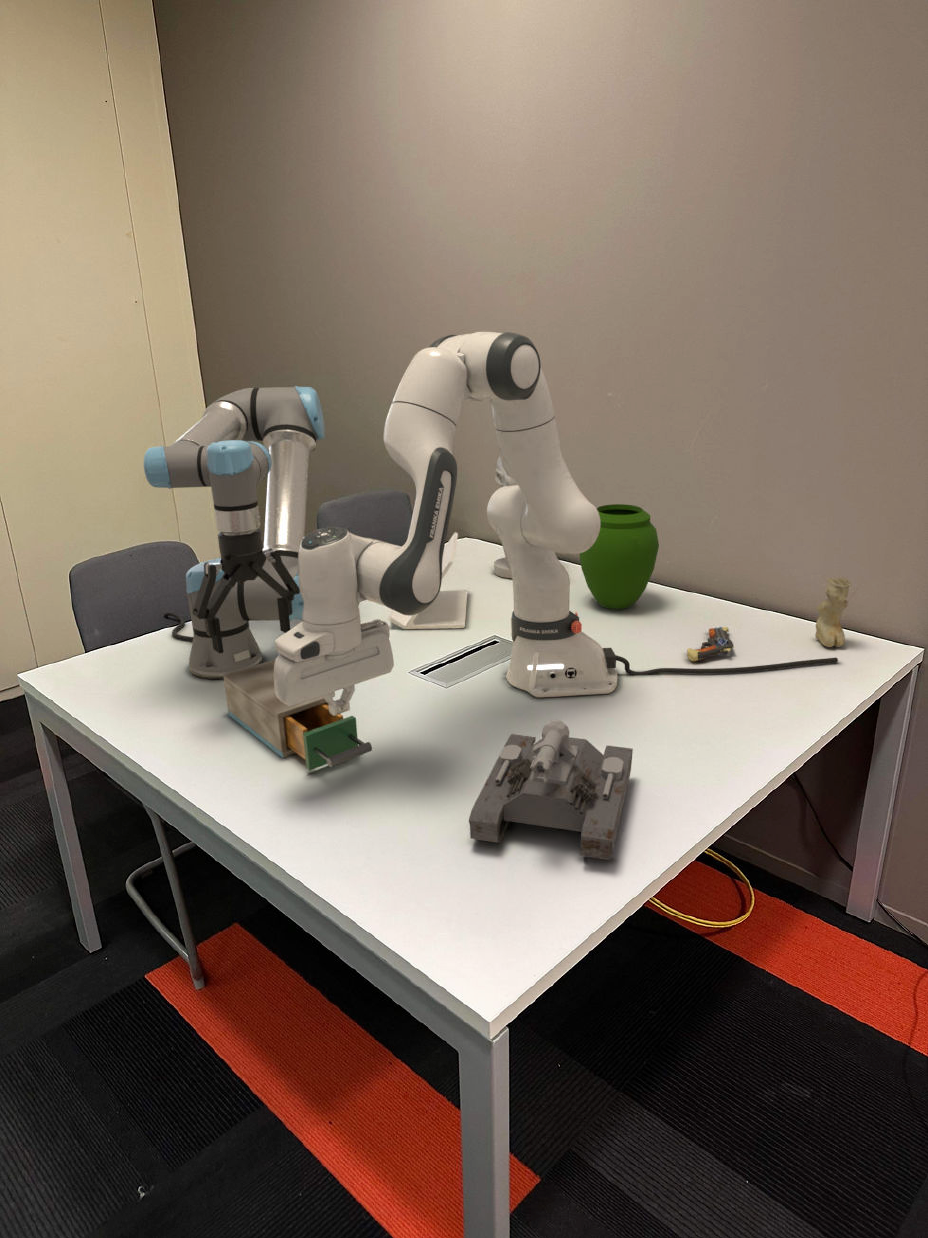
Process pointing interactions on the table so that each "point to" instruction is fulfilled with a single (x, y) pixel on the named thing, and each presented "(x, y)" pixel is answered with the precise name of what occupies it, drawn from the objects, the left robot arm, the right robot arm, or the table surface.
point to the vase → (620, 556)
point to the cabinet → (261, 705)
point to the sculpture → (832, 613)
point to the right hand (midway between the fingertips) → (339, 712)
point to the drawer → (323, 737)
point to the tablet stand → (438, 603)
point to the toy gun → (712, 644)
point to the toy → (555, 789)
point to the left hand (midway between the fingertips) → (253, 641)
